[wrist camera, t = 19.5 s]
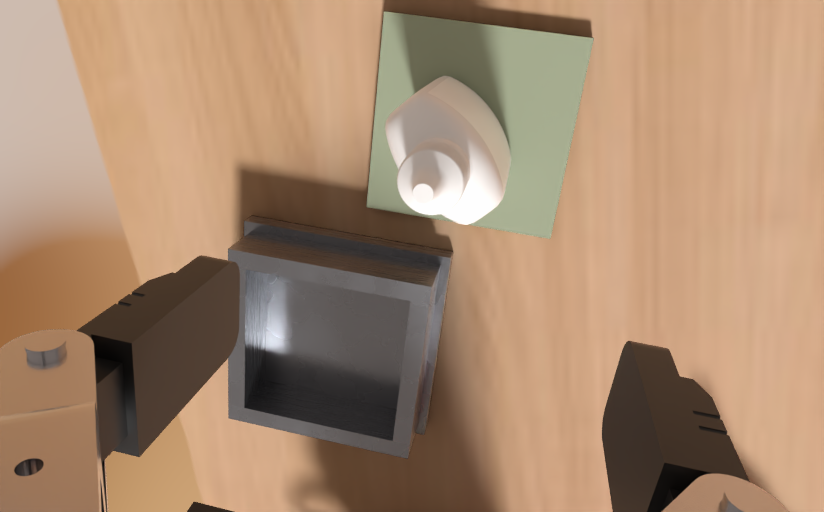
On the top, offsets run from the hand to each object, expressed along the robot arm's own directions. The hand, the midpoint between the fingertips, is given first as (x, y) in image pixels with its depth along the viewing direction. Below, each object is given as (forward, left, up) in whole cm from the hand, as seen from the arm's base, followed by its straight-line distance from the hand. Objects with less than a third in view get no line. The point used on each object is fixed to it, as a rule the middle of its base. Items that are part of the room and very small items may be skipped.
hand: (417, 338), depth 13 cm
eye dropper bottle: (-1, -1, -20) cm, 20 cm away
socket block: (+12, -7, -21) cm, 25 cm away
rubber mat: (-1, -1, -21) cm, 21 cm away
